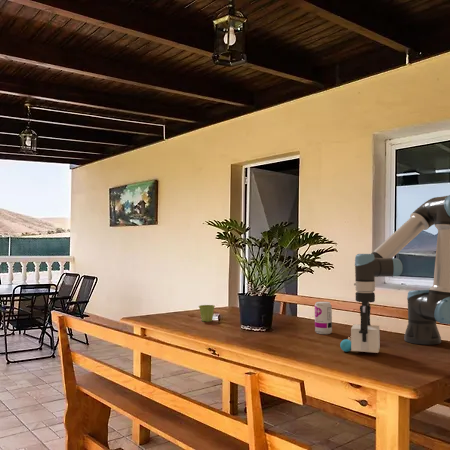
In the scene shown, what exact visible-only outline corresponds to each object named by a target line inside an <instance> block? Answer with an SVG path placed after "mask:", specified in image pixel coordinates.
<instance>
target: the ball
mask: <svg viewBox="0 0 450 450" xmlns="http://www.w3.org/2000/svg"><path fill="white" fill-rule="evenodd" d="M339 344H340V345H339V346H340V349H341V351H343V352H345V353H348V352H352V351H351V339H347V338H346V339H343V340H341V342H340V343H339Z"/></svg>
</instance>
